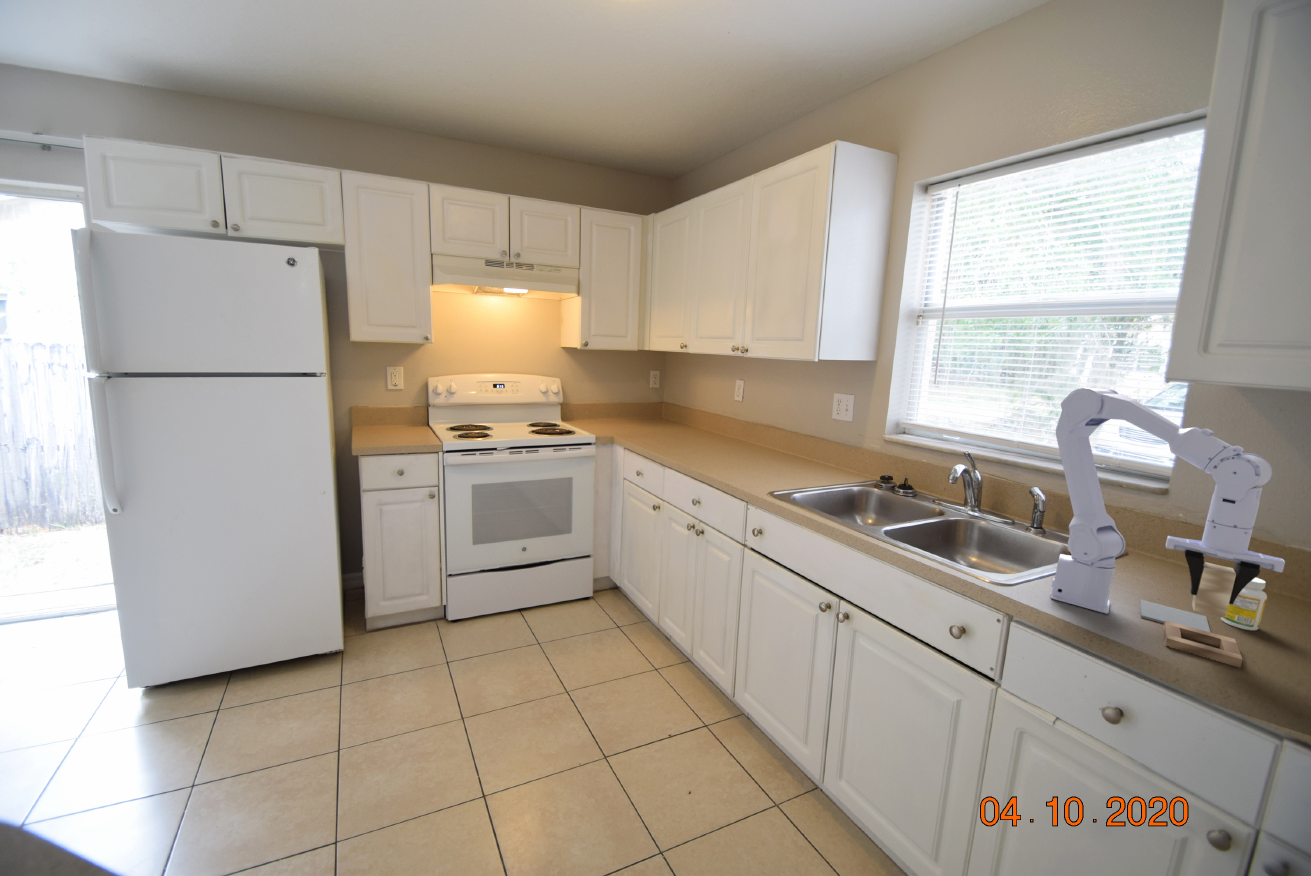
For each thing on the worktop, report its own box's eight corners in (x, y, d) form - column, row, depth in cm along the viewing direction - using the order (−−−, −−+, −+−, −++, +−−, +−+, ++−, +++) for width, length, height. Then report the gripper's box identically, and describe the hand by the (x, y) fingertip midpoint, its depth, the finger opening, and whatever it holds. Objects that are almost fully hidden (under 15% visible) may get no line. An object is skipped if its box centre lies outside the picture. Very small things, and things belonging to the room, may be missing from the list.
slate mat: (1140, 617, 112) (1141, 615, 112) (1140, 601, 120) (1140, 599, 120) (1210, 636, 106) (1211, 633, 106) (1205, 618, 114) (1205, 616, 114)
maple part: (1193, 610, 101) (1204, 567, 99) (1191, 603, 104) (1201, 561, 102) (1225, 618, 98) (1236, 574, 97) (1222, 610, 101) (1233, 568, 100)
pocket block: (1165, 645, 101) (1167, 638, 101) (1163, 627, 109) (1164, 620, 108) (1240, 667, 96) (1242, 659, 95) (1232, 646, 103) (1234, 638, 102)
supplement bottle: (1241, 631, 109) (1254, 583, 108) (1212, 617, 115) (1223, 572, 113) (1266, 631, 110) (1279, 584, 108) (1236, 617, 115) (1247, 572, 114)
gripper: (1174, 517, 100) (1157, 590, 102) (1296, 540, 91) (1274, 619, 93) (1172, 510, 105) (1156, 579, 107) (1287, 530, 96) (1267, 606, 98)
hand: (1211, 597), depth 101 cm, fingers closed on maple part, 4 cm apart
